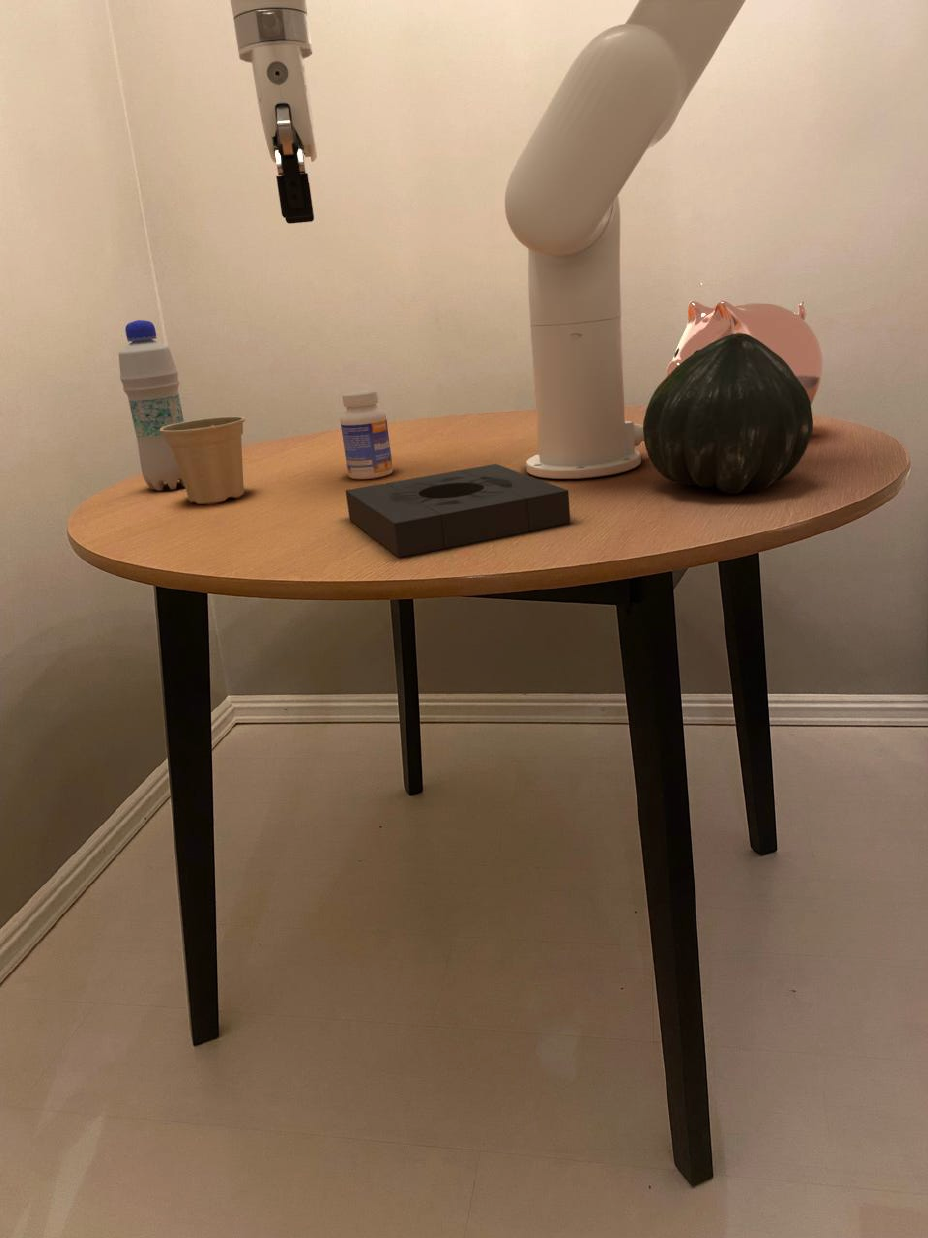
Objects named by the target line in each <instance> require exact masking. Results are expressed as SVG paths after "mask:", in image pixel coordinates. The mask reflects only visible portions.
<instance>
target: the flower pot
mask: <svg viewBox="0 0 928 1238" xmlns="http://www.w3.org/2000/svg"><path fill="white" fill-rule="evenodd" d="M245 421H246V417H245V416H241V415H227V416H226V415H224V416H215V417H207V418H198V419H193V420H188V421H187V420H186V421H184V422H180V423H176V424H171V425H167V426H164V427H162V428H160V433H163V434H164V436H165V438H166V441H167V444H168V445H170V447H171V449H172V452H173V455H174V458H175V460H176V463H177V466H178V469H179V472H180V474H181V477H182V480H183V483H184V486H185V487H184V488H185V492H186V495H187V498H188V501H189V502H190V503H196V504H199V505H207V504H218V503H223V502H225V501H226V500H227V499H229V498H232V499H237V498H240V497H241V496H243V495H244V493H245V485H244V468H243V447H242V435H243V434H244V422H245Z"/></svg>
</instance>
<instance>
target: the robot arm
mask: <svg viewBox="0 0 928 1238" xmlns="http://www.w3.org/2000/svg"><path fill="white" fill-rule="evenodd" d="M745 2H746V0H638V2H637V4H636V5H635V7H634V9H633V10H632V11H631V13H630V15H629V17H628V18H627V20H626V21H625V23H623V24H618V25H614V26H612V27H609V28H607V29H606V30H603V31H601V32H600V33H598V34H597V35H596V36H595V37H593V38H592V39H591V40H590V41H589V42H588V43H587V44H586V45H584V47H583V49H581V51H580V52H579V53H578V55H577V56H576V57H575V59H574V60H573V62H572V64H571V65H570V67H569V68H568V70H567V72H566V74H565V76H564V77H563V79H562V81H561V82H560V84H559V85H558V88H557V89H556V91H555V92H554V94H553V96H552V98H551V100H550V102H549V103H548V105H547V107H546V109H545V111H544V113H542V116H541V118H540V120H539V121H538V123H537V125H536V127H535V129H534V130H533V132H532V133H531V135H530V137H529V139H528V141H527V142H526V144H525V146H524V148H523V150H522V151H521V153H520V155H519V157H518V159H517V160H516V162H515V164H514V166H513V168H512V171H511V173H510V175H509V177H508V180H507V182H506V183H507V184H506V188H505V192H504V212H505V217H506V221H507V225H508V227H509V229H510V230H511V232H512V234H513V236H514V237H515V238H516V239H517V241H518V242H520V243H521V245H523V246H524V248H527V252H528V253H527V254H528V255H527V258H528V259H527V260H528V261H527V264H528V265H527V266H528V268H527V276H528V277H527V279H528V281H527V285H528V306H529V307H528V309H529V310H528V311H529V321H530V322H529V323H530V324H529V326H530V329H529V330H530V343H531V356H532V357H531V358H532V371H533V384H534V386H533V387H534V398H535V413H536V427H537V440H538V441H537V442H538V454H535V455H533V456H531V457H529V458H528V459H527V460H526V462H525V469H526V472H527V474H528V475H531V476H533V477H537V478H538V477H539V478H543V479H544V478H545V479H554V480H557V479H558V480H560V479H561V480H571V479H573V480H575V479H576V480H577V479H589V478H590V479H591V478H598V477H605V476H612V475H616V474H622V473H625V472H628V471H631V470H632V469H636V468H637V467H638V466H639V465H640V464H641V462H642V461H641V457H642V456H641V455H642V454H641V452H640V451H639V450H637V449H636V447H638V446H639V445H641V442H644V433H643V425H642V424H641V423H636V422H634V421H631V420H628V419H627V420H626V418H625V413H626V412H625V391H624V390H625V389H624V388H625V387H624V365H623V364H624V363H623V361H624V359H623V336H622V334H623V333H622V301H621V300H622V298H621V297H622V296H621V206H620V205H621V204H620V199H619V194H620V192H621V191H622V190H623V189H624V186H625V184H627V181H628V180H629V178H630V177H631V176H632V173H633V172H634V170H635V168H636V167H637V166H638V165H639V163H640V161H641V159H642V158H643V156H644V155H645V153H646V151H647V150H648V149H650V148H653V147H654V146H655V145H657V144H658V143H659V142H660V141H662V140H663V138H664V137H665V136H666V135H667V134H668V133H669V131H670V130H671V128H672V126H674V123H675V122H676V119H677V118H678V116H679V114H680V111H682V108H683V107H684V105H685V103H686V101H687V99H688V97H689V96H690V94H691V92H692V91H693V89H694V87H695V86H696V84H697V83H698V81H699V80H700V78H701V76H702V74H703V73H704V71H705V70H706V68H707V66H708V65H709V63H710V62H711V60H712V58H713V57H714V55H715V53H716V52H717V50H718V48H719V46H720V44H721V43H722V41H723V39H724V37H725V36H726V34H727V32H728V31H729V29H730V27H731V25H732V24H733V22H734V21H735V20H736V17H737V16H738V14H739V13H740V11H741V9H742V7H743V6H744V4H745ZM230 7H231V13H232V19H233V28H234V33H235V41H236V45H237V51H238V57H239V60H241V61H243V62H245V63H251V66H252V72H253V79H254V85H255V91H256V97H257V103H258V109H259V114H260V121H261V124H262V130H263V134H264V138H265V142H266V146H267V150H268V153H269V157H270V158H271V160H272V162H273V163H274V164H276V169H277V175H276V176H275V177H276V184H277V185H276V186H277V191H278V197H279V205H280V211H281V216H282V217H283V218H284V219H285V222H286V223H287V224H291V225H292V224H302V223H312V222H313V221H314V220H315V214H314V206H313V199H312V192H311V185H310V181H309V174H308V172H307V171H306V165H305V158H310V161H311V162H312V163H313V162H315V161H316V160H317V157H318V155H317V145H316V138H315V129H314V121H313V113H312V107H311V98H310V91H309V85H308V84H309V83H308V78H307V72H306V67H305V62H304V59H306V58H309V57H310V56H312V55H313V47H312V39H311V31H310V24H309V22H310V21H309V16H308V9H307V0H230Z"/></svg>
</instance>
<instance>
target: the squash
mask: <svg viewBox="0 0 928 1238" xmlns="http://www.w3.org/2000/svg"><path fill="white" fill-rule="evenodd" d="M642 423H643V424H642V426H643V433H644V441H643V442H644V443H643V444H644V447H645V450H646V454H647V456H648V458H649V460H650V463H651V465H652V466H653V467H654V469H655V470H657V472H658V473H659V474H660V475H661V476H663V478H665V479H667V480H669V481H671V482H673V483H677V484H681V485H689V486H693V485H696V486H699V487H702V488H709V487H712V486H715V487H717V489H718V490H720V491H721V492H723V493H727V494H730V495H734V494H739V493H740V492H742V491H743V490H746V491H749V492H758V491H762V490H764V489H766V488H768V487H770V486H771V485H772V484H773V483H775V482H777V481H778V482H779V481H780V480H782V479H784V478H785V477H786V476H788V475H789V474H790V473H791V472H792V471H793V470H794V469H795V467H796V466H797V465H798V464H799V463H800V462H801V460H802V458H803V456H804V454H805V453H806V451H807V448H808V446H809V444H810V442H811V439H812V436H813V428H814V418H813V409H812V405H811V402H810V399H809V396H808V394H807V391H806V389H805V388H804V387H803V385H802V384H801V383H800V381H799V380H798V378H797V377H796V376H795V374H794V373H793V371H792V370H791V368H790V367H789V366H788V364H787V363H786V362H785V361H784V360H783V359H782V358H781V357H780V356H779V355H777V354H776V353H775V352H773V351H772V350H771V349H769V348H768V347H767V346H766V345H764V344H763V343H762V342H760V341H759V340H757V339H756V338H754V337H752V336H750V335H748V334H744V333H736V334H731V335H728V336H725V337H723V338H720V339H718V340H716V341H714V342H712V343H710V344H709V345H707V346H706V347H704V348H702V349H701V350H699V351H698V352H696V353H694V354H693V355H691V356H690V357H689V358H687V359H686V360H684V361H683V362H682V363H681V364H680V365H678V366H677V367H676V368H675V369H674V370H673V371H672V372H671V374H670V375H668V376H667V377H666V376H665V378H664V379H663V380H662V382H661V383H660V384H659V385H658V386H657V387H656V389H655V390H654V391H653V394H652V395H651V397H650V400H649V402H648V405H647V407H646V410H645V414H644V418H643V422H642ZM811 435H812V436H811Z"/></svg>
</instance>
